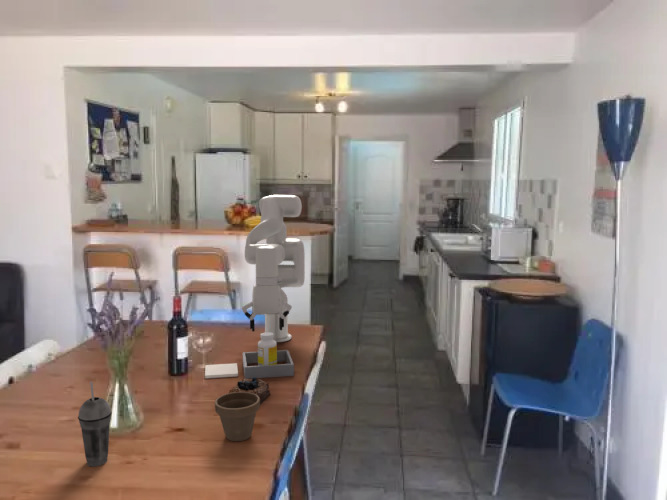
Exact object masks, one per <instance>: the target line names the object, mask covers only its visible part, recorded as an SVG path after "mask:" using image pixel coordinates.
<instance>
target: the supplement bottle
mask: <svg viewBox="0 0 667 500" xmlns="http://www.w3.org/2000/svg"><path fill="white" fill-rule="evenodd" d="M273 337H274V334H273V333H270V332H265V331H264V332H262V333H261V332H260V340H259V341H258V342H257V352H258V363H257V366H262V365H278V362H277V351H278V349H277V348H278V347H277V344H278V342H276V341H275V340H273Z"/></svg>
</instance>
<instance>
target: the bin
mask: <svg viewBox="0 0 667 500" xmlns="http://www.w3.org/2000/svg"><path fill="white" fill-rule="evenodd" d="M281 362H286V363H284V364H282V363H281ZM277 363H279V364H277V365H262V366H258V365H250V366H249V364H258V351H248V352H247V351H246V352H245V351H243V352H242V367H243V374H244V375H243V376H244V379H250V380H251V379H252V378H254V377H256V378H257V379H261V378H280V377H293V376H294V377H295V365H294V362H293V359H292V357H291V354H290V351H289V349H284V350H277ZM280 363H281V364H280Z"/></svg>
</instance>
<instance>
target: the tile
mask: <svg viewBox="0 0 667 500" xmlns="http://www.w3.org/2000/svg"><path fill="white" fill-rule="evenodd" d="M204 367H205V371H204V379H217V378H218V379H219V378H233V377H236V378H237V377H239V371H238V369H239V368H238V363H237V362H236V363H218V364H216V363H215V364H206V365H205V366H204Z"/></svg>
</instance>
